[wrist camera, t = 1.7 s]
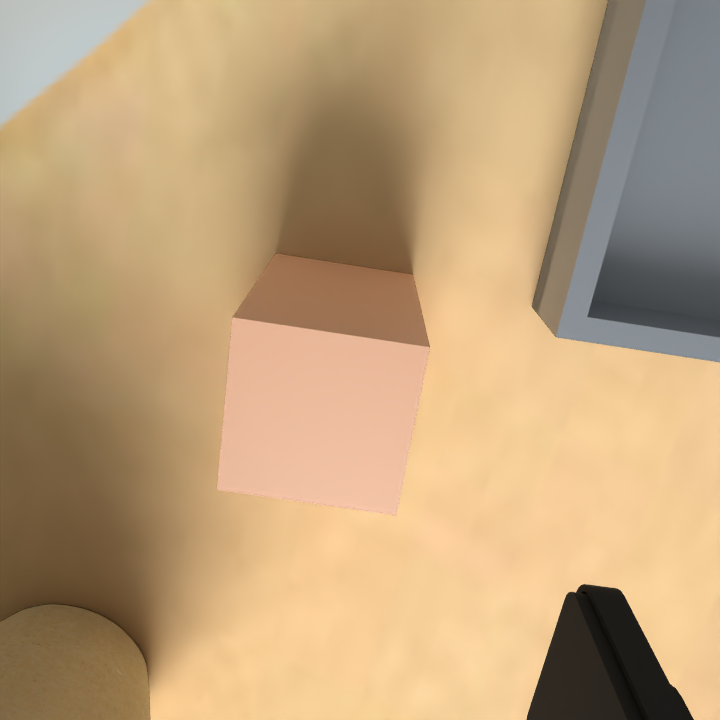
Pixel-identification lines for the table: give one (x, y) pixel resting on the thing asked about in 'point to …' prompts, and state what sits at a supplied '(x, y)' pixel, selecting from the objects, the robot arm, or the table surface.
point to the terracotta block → (323, 385)
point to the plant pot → (70, 667)
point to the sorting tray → (643, 189)
